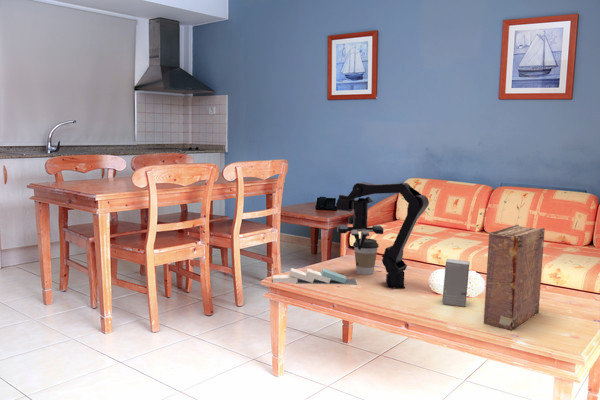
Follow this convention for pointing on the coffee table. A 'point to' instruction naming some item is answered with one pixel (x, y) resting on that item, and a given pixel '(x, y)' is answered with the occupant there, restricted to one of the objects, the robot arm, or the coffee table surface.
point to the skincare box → (455, 282)
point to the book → (513, 276)
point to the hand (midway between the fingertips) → (359, 249)
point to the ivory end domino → (285, 279)
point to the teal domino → (333, 276)
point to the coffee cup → (366, 256)
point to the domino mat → (347, 282)
